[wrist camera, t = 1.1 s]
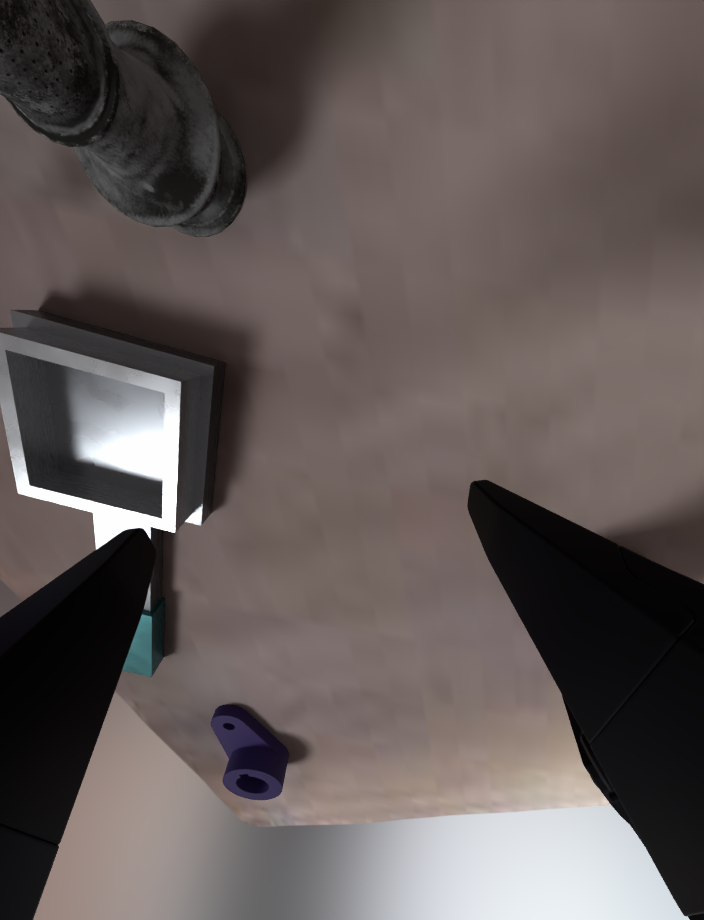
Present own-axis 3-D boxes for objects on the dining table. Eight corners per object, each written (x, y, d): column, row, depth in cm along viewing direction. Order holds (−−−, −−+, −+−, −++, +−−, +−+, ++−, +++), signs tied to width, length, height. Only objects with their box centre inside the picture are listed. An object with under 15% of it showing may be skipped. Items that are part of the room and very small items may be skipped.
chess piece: (138, 59, 14) (-696, -847, 3) (266, 124, 15) (-52, -444, 4) (124, 213, 16) (-379, 6, 5) (235, 263, 17) (-16, 168, 6)
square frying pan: (225, 362, 19) (195, 371, 16) (196, 665, 31) (176, 705, 28) (37, 310, 19) (-33, 309, 15) (81, 638, 30) (46, 676, 27)
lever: (297, 760, 37) (291, 797, 34) (249, 765, 39) (239, 802, 36) (252, 697, 33) (240, 734, 30) (199, 706, 34) (183, 742, 31)
